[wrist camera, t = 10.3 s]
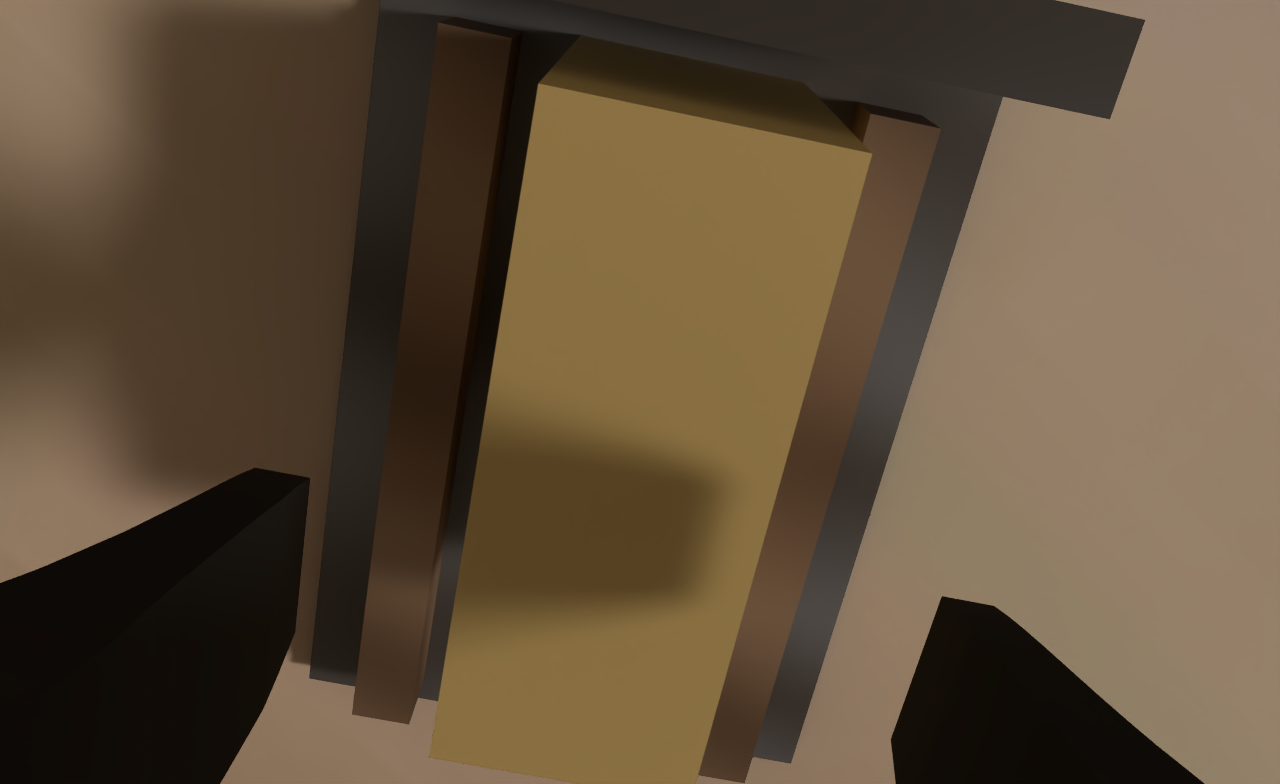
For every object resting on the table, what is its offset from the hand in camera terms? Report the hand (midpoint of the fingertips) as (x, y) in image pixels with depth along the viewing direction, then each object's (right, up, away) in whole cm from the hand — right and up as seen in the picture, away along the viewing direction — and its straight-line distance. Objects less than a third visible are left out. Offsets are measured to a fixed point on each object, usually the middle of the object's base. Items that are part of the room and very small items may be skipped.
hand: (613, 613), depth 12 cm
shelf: (0, +3, +10) cm, 10 cm away
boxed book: (0, +4, +9) cm, 10 cm away
